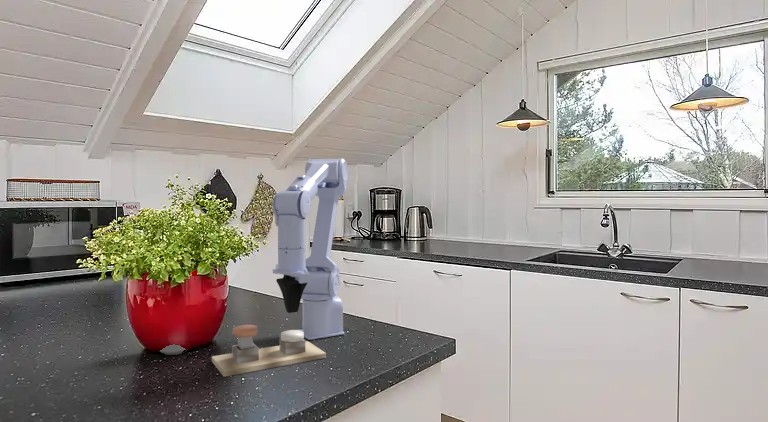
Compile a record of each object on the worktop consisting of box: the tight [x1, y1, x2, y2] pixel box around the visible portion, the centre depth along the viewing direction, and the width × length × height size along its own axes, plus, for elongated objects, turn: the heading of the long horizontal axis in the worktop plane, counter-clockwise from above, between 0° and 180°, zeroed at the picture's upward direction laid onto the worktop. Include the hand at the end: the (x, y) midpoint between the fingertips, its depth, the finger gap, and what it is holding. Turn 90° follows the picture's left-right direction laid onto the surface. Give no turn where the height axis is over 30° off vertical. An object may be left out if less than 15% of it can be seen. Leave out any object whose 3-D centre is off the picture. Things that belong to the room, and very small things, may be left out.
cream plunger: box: [280, 329, 305, 342], centre depth 107 cm, size 5×5×4 cm
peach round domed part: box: [232, 324, 258, 349], centre depth 102 cm, size 5×5×4 cm
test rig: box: [211, 337, 327, 377], centre depth 105 cm, size 21×10×4 cm, turn 121°
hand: (292, 311), depth 107 cm, fingers closed
